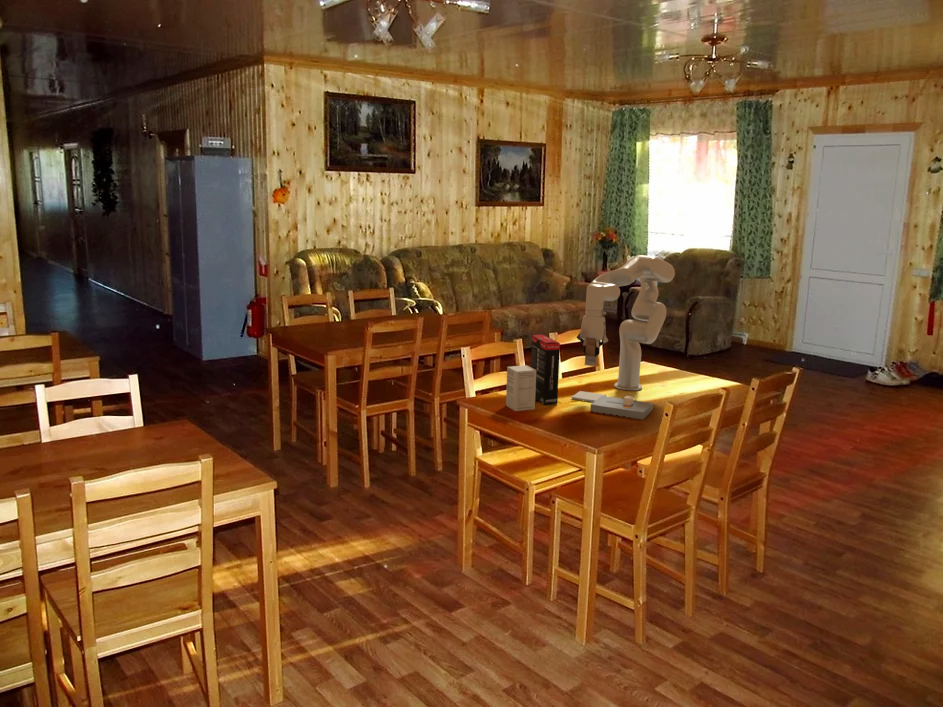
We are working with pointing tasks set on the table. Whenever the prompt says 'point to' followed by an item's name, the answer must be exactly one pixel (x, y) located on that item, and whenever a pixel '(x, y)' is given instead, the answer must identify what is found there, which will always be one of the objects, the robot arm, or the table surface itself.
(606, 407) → the switch board
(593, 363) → the block
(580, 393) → the mat
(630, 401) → the switch tab
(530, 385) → the supplement box
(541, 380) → the graphics card box
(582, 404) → the table surface
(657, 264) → the robot arm
